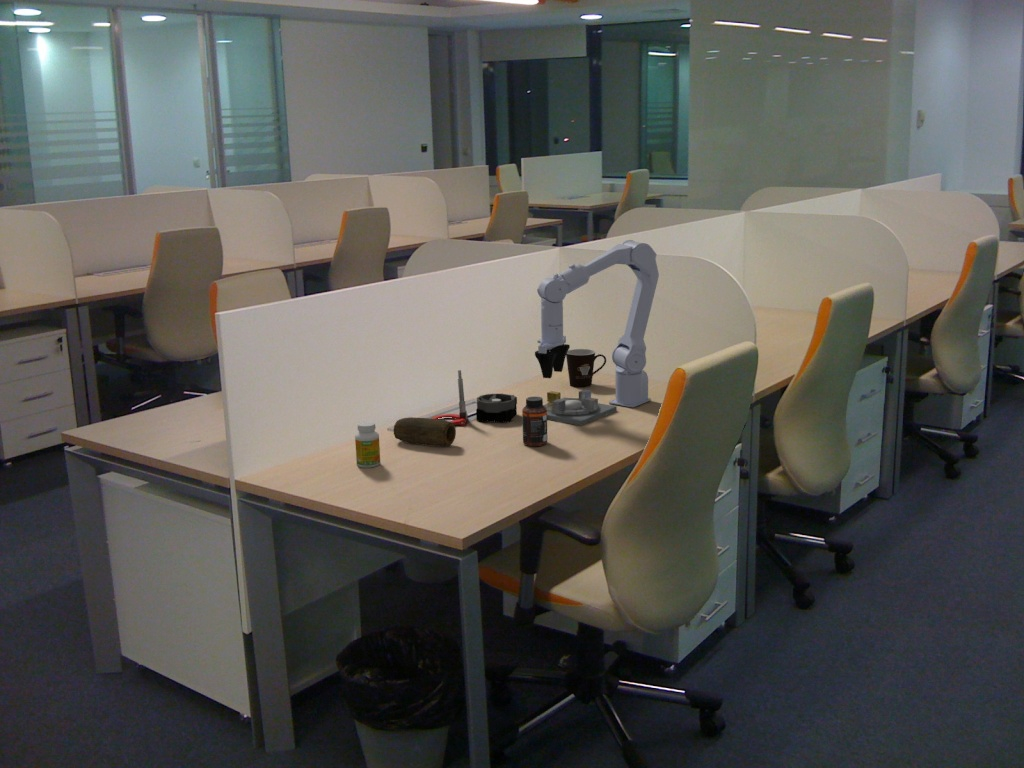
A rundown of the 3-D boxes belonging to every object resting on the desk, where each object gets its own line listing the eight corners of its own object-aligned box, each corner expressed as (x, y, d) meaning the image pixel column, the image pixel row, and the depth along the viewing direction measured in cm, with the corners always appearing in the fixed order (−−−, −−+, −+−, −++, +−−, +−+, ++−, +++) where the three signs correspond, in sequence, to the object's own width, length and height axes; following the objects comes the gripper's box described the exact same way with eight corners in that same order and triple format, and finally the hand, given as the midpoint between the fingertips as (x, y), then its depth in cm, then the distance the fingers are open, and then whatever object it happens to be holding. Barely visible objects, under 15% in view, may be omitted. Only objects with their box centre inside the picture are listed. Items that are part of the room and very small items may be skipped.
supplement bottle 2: (552, 444, 238) (551, 399, 236) (531, 449, 235) (530, 402, 233) (539, 438, 243) (538, 393, 241) (518, 442, 240) (517, 397, 238)
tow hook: (426, 429, 255) (465, 427, 254) (421, 376, 252) (461, 374, 251) (431, 419, 264) (468, 417, 263) (426, 368, 261) (464, 366, 260)
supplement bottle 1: (361, 469, 223) (358, 428, 221) (353, 463, 228) (351, 422, 226) (384, 465, 226) (381, 424, 223) (375, 459, 231) (373, 419, 228)
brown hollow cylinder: (459, 443, 242) (458, 416, 240) (446, 451, 235) (445, 424, 234) (404, 437, 247) (403, 411, 246) (391, 445, 241) (389, 419, 239)
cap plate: (564, 401, 276) (564, 391, 276) (616, 410, 266) (616, 399, 265) (527, 415, 263) (527, 404, 263) (580, 425, 253) (580, 414, 252)
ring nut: (565, 398, 275) (565, 386, 274) (611, 406, 266) (611, 393, 265) (532, 410, 263) (532, 397, 262) (579, 419, 254) (579, 406, 253)
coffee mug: (564, 388, 290) (564, 355, 288) (567, 381, 299) (567, 348, 296) (604, 389, 289) (604, 355, 286) (606, 382, 297) (606, 349, 294)
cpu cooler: (472, 401, 257) (481, 391, 267) (472, 422, 259) (482, 412, 268) (511, 403, 255) (519, 393, 265) (511, 424, 256) (519, 414, 266)
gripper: (548, 318, 269) (549, 367, 272) (527, 328, 256) (528, 379, 260) (572, 320, 266) (573, 369, 270) (552, 330, 254) (553, 381, 257)
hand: (552, 374), depth 264 cm, fingers open, 7 cm apart
